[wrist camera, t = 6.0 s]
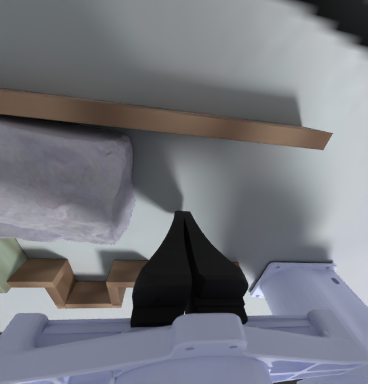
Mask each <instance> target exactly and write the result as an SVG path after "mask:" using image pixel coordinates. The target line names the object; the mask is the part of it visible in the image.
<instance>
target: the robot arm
mask: <svg viewBox="0 0 368 384" xmlns="http://www.w3.org/2000/svg"><path fill="white" fill-rule="evenodd" d="M336 269H337V266H336V265H335V264H332V263H282V262H272V263H270V264H269V265H268V267H267V268H266V270H265V271H264V273H263V274H262V276H261V278H260V279H259V281H258V282H257V284H256V285H255V287H254V288H253V290H252V292H251V293H250V295H251V297H265V299H266V301H267V304H268V306H269V308H270V310H271V312H272V315H268V316H247V315H246V312H245V309H244V305H245V303H244V300H243V296H244V295H245V293H246V291H247V289H248V282H247V280H246V278H245V275H244V274H243V272H242V270H241V268H239V267H238V266H236V265H235V264H234V263H232V262H231V261H230V260H228V259H227V258H226V257H225V256H224V255H222V254H221V253H220V252H219V251H218V250H217V249H216V248H215V247H214V246H213V245H212V244H211V243H210V241H209V240H208V239H207V238H206V237H205V235H204V234H203V233H202V231H201V230H200V228H199V227H198V225H197V223H196V222H195V220H194V218H193V216H192V214H191V212H188V211H175V214H174V219H173V222H172V225H171V227H170V230H169V232H168V234H167V236H166V237H165V239H164V241H163V242H162V244H161V245H160V247H159V248H158V250H157V251H156V252H155V253H154V255H153V256H152V257H151V258H150V260H149V261H148V262H147V263H146V264H145V265H144V266H143V267H142V269H141V271H140V272H139V274H138V277H137V279H136V281H135V284H134V288H133V293H132V300H133V311H132V316H131V318H124V319H76V320H48V318H47V316H46V315H45V314H41V313H19V314H16V315H15V316H14V318H13V319H12V321H11V322H10V323H9V325H8V326H7V327H6V329H5V330H4V331H3V333H2V334H1V336H0V384H273V382H280V381H288V380H295V379H303V380H301V381H298V382H297V384H368V307H367V306H366V305H365V304H364V303H363V302H362V301H361V299H360V298H359V297H358V296H357V295H356V294H355V293H354V292H353V291H352V290H351V289H350V288H349V287H348V285H347V284H346V283H345V282H344V281H343V280H342V279H341V278H340V277H339V276H338V275H337V274H336V273H335V272H334V271H335V270H336ZM184 311H185V315H184Z"/></svg>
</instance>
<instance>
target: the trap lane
mask: <svg viewBox="0 0 368 384" xmlns="http://www.w3.org/2000/svg"><path fill="white" fill-rule="evenodd" d="M0 114H5V115H14V116H22V117H31V118H40V119H49V120H58V121H67V122H76V123H85V124H94V125H103V126H112V127H121V128H130V129H139V130H148V131H157V132H166V133H175V134H184V135H193V136H202V137H211V138H220V139H229V140H238V141H247V142H256V143H265V144H274V145H283V146H292V147H301V148H310V149H319V150H324V148H325V146H326V144H327V143H328V141H329V139H330V137H331V136H332V134H333V133H329V132H325V131H320V130H316V129H311V128H307V127H301V126H294V125H286V124H278V123H270V122H262V121H255V120H247V119H239V118H231V117H223V116H216V115H208V114H200V113H192V112H184V111H177V110H169V109H161V108H153V107H145V106H137V105H130V104H122V103H114V102H106V101H98V100H91V99H83V98H75V97H67V96H59V95H52V94H44V93H36V92H28V91H20V90H13V89H5V88H0ZM147 262H148V261H135V260H114V261H113V264H112V267H111V270H110V272H109V275H108V278H107V281H106V282H77V281H76V279H75V276H74V274H73V272H72V269H71V267H70V264H69V262H68V260H67V259H30V258H27V257H26V255H25V253H24V252H23V250H22V249H21V247H20V246H19V244H18V242H17V241H16V239H15V238H0V293H7V292H8V291H9V289H10V288H11V287H45V289H46V290H47V292H48V294H49V295H50V297H51V298H52V300H53V301H54V303H55V305H56V306H57V308H58V309H61V308H121V306H122V302H123V298H124V294H125V290H126V287H134V284H135V281H136V279H137V277H138V274H139V272H140V271H141V269H142V267H143V266H144V265H145V264H146V263H147ZM232 263H234V264H235V265H236V266H238V267H239V268H240V266H239V263H238V262H232Z"/></svg>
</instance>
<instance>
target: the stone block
mask: <svg viewBox="0 0 368 384" xmlns="http://www.w3.org/2000/svg"><path fill="white" fill-rule="evenodd" d="M132 167H133V150H132V144H131V141H130V139H129V137H128V136H127V135H125V134H122V133H117V132H113V131H108V130H102V129H95V128H90V127H85V126H79V125H73V124H67V123H62V122H57V121H52V120H46V119H40V118H31V117H22V116H14V115H5V114H0V238H18V239H23V240H27V241H39V242H51V241H60V240H63V239H64V240H69V241H74V242H91V243H95V244H111V245H112V244H115V243H116V242H117V241H119V239H120V237H121V235H122V234H123V233H124V231H125V230H126V229H127V226H128V224H129V221H130V218H131V216H132V211H133V208H134V207H135V196H134V190H133V189H134V186H133V184H132V181H131V174H132Z"/></svg>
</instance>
